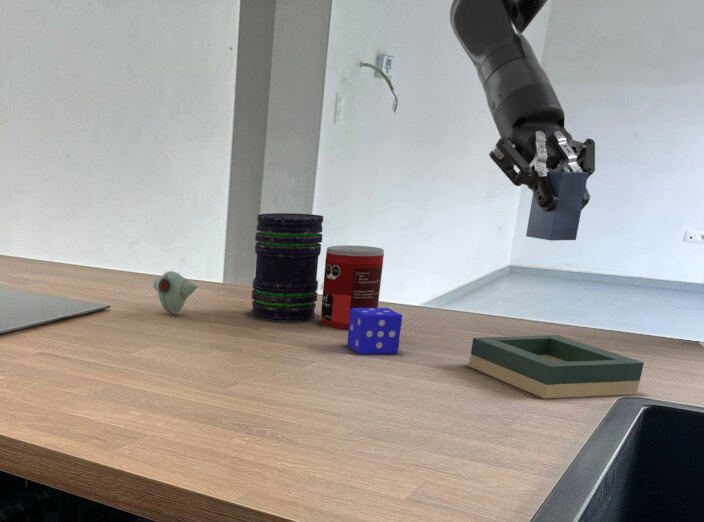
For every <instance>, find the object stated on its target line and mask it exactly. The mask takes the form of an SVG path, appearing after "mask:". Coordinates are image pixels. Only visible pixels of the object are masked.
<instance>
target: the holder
mask: <svg viewBox="0 0 704 522" xmlns="http://www.w3.org/2000/svg"><path fill="white" fill-rule="evenodd" d="M644 363H645V362H643V361H641V360H638V359H635V358H631V357H628V356H625V355H623V354H619V353H615V352H613V351H612V352H611V351H609V350H605V349H602V348H600V347H597V346H593V345H590V344H587V343H584V342H580V341H577V340H575V339H572V338H568V337H564V336H563V335H562V336H561V335H559V334H547V335H546V334H545V335H544V334H543V335H515V336H514V335H513V336H486V337H485V336H484V337H483V336H482V337H473V338H472V344H471V351H470V357H469V362H468V367H469V368H471V369H474V370H477V371H479V372H481V373H483V374H486V375H488V376H491V377H493V378H495V379H497V380H499V381H502V382H504V383H506V384H508V385H511V386H514V387H516V388H517V389H520V390H522V391H525V392H527V393H530V394H532V395H535V396H537V397H539V398H541V399H544V400H545V399H564V398H565V399H566V398H584V397H585V398H586V397H587V398H588V397H589V398H590V397H608V396H609V397H610V396H628V395H630V396H632V395H637V394H638V391H639V386H640V382H641V377H642V373H643V369H644Z"/></svg>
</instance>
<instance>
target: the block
mask: <svg viewBox="0 0 704 522" xmlns="http://www.w3.org/2000/svg"><path fill="white" fill-rule="evenodd" d="M587 177H588V173H587V172H570V171H548V170H547V176H546V177H545V178H550V180H551V183H552V185H553V187H554V190H555V192H556V194H557V197H558V198H559V201H558V203H557V204H556V206H555V207H554V208H553V209H552V210H551V211H550V212H544V211H543V209H542V207H540V206H539V205H538V203H537V200H536V198H535V196H534V193H533V192H532V197H531V203H530V204H531V205H530V209H529V216H528V222H527V228H526V233H525V236H526V237H528V238H532V239H539V240H545V241H551V242H552V241H576V240H577V236H578V231H579V227H580V226H579V225H580V220H581V215H582V210H583V209H582V203H583V198H584V193H585V188H587V181H588V179H587ZM581 209H582V210H581Z"/></svg>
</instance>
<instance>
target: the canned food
mask: <svg viewBox="0 0 704 522" xmlns="http://www.w3.org/2000/svg"><path fill="white" fill-rule="evenodd" d="M325 252H326V253H325V260H324V261H325V263H324V274H323V284H322V285H323V286H322V298H321V311H320V319H321V324H323V325H324V326H326V327H329V328H334V329H340V330H341V329H342V330H349V320H350V310H351V308H379V300H380V291H381V284H382V275H383V268H384V267H383V266H384V256H385V255H384V254H385V250H384V249H383V248H382V247H376V246H369V245H368V246H367V245H347V244H346V245H332V246H331V245H330V246H328V247H326V251H325Z"/></svg>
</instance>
